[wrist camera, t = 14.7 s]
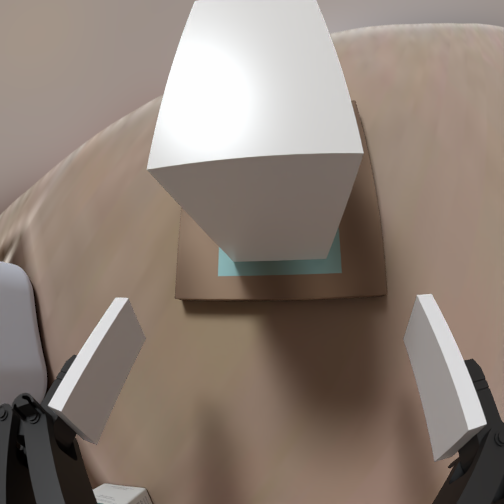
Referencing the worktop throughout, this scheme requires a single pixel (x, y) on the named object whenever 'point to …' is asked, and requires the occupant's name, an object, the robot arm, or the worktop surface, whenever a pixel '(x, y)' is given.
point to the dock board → (292, 271)
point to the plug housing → (258, 129)
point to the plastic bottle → (19, 338)
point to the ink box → (121, 495)
